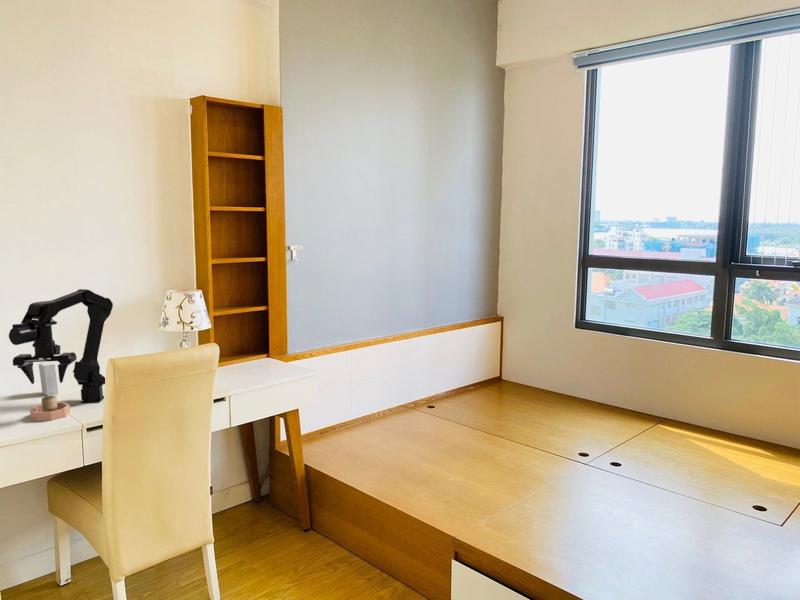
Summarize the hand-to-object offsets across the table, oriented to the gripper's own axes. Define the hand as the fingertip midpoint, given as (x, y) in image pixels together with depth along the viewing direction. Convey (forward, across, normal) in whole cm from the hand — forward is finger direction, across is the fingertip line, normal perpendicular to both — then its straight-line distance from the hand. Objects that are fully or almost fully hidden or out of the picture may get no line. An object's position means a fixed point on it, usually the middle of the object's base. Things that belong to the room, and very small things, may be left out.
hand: (47, 383), depth 219 cm
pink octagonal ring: (+12, 0, 0) cm, 12 cm away
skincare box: (+12, +11, -28) cm, 32 cm away
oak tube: (+12, 0, 0) cm, 12 cm away
